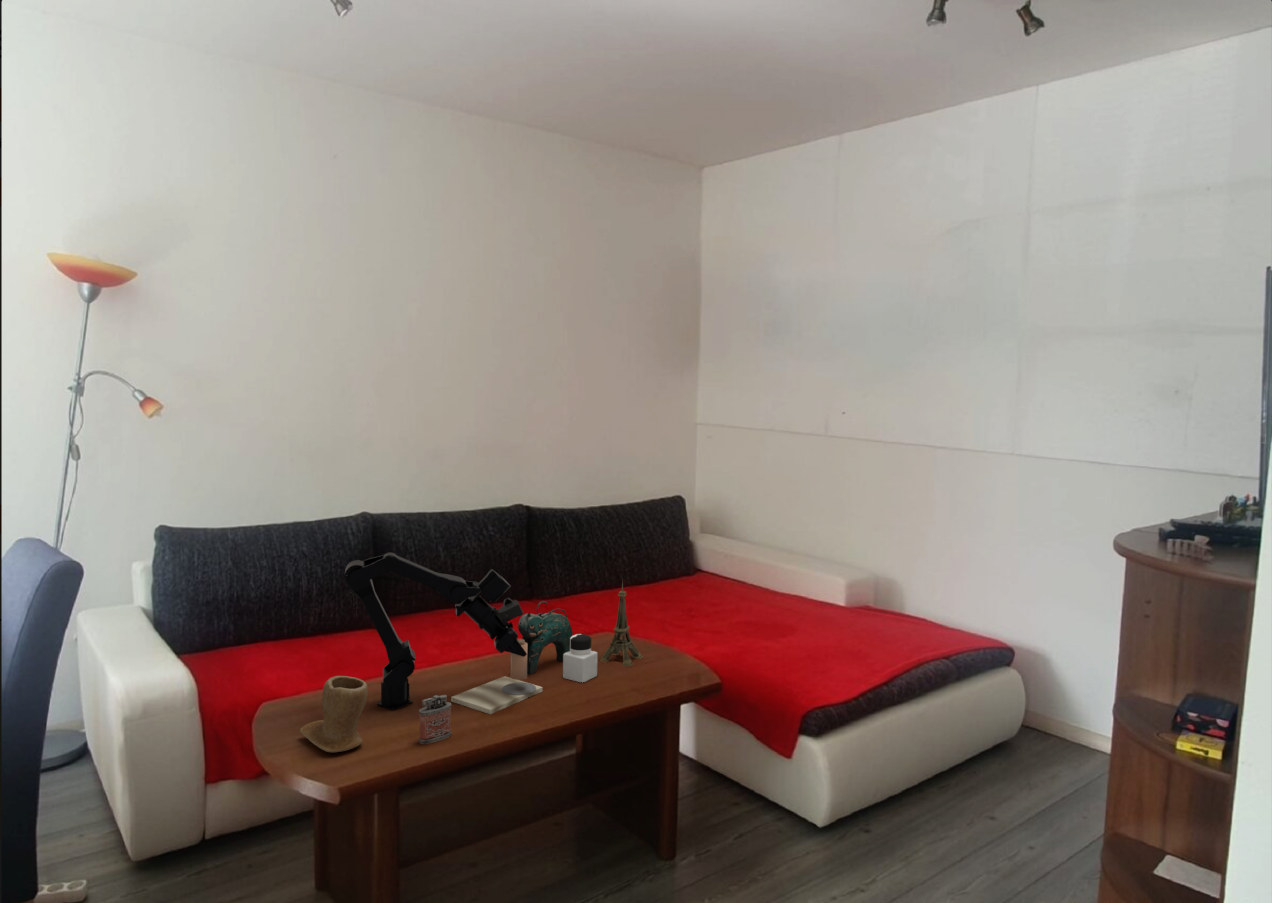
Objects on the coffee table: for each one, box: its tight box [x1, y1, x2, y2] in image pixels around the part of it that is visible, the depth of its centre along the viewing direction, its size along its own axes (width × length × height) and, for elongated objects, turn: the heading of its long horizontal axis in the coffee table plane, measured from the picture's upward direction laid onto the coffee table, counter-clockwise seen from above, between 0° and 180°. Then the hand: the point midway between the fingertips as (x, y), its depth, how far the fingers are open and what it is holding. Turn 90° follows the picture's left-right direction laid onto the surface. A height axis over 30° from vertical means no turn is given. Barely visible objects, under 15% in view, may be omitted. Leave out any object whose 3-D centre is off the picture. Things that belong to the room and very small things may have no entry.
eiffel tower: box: [599, 578, 644, 668], centre depth 256 cm, size 11×11×25 cm
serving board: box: [450, 675, 544, 715], centre depth 224 cm, size 20×14×1 cm
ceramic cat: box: [517, 600, 574, 675], centre depth 248 cm, size 20×6×20 cm, turn 141°
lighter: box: [418, 694, 452, 745], centre depth 197 cm, size 8×3×10 cm, turn 135°
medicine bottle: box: [562, 633, 598, 684], centre depth 240 cm, size 7×7×12 cm
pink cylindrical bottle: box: [510, 638, 528, 681], centre depth 226 cm, size 4×4×10 cm
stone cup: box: [299, 675, 369, 753], centre depth 193 cm, size 15×12×15 cm
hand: (524, 652), depth 226 cm, fingers closed on pink cylindrical bottle, 4 cm apart
